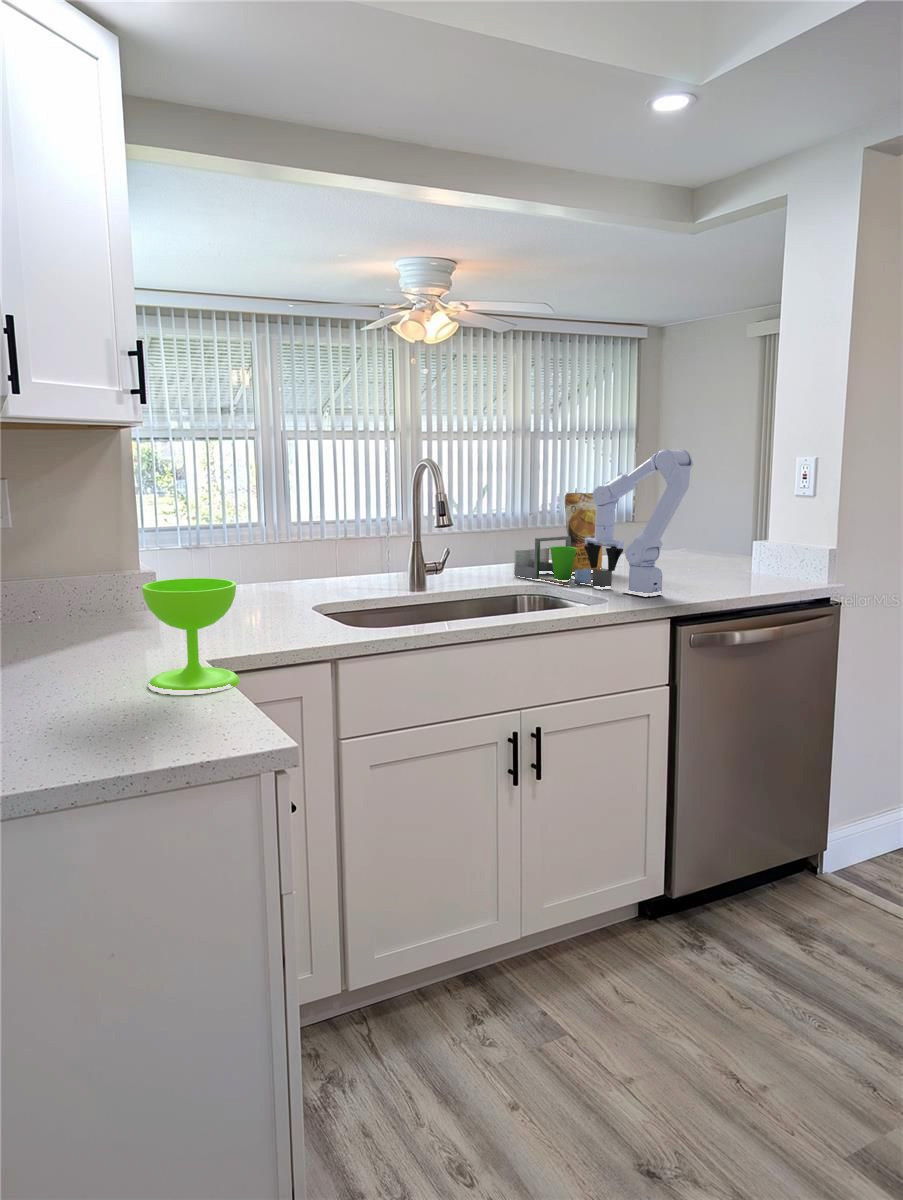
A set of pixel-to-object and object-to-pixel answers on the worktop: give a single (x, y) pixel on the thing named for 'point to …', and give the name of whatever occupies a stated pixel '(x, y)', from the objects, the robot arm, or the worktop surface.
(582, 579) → the blue and gray block
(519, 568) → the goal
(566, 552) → the cup
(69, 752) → the worktop surface
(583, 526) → the pancake mix bag
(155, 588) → the wineglass
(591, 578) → the lane rails
